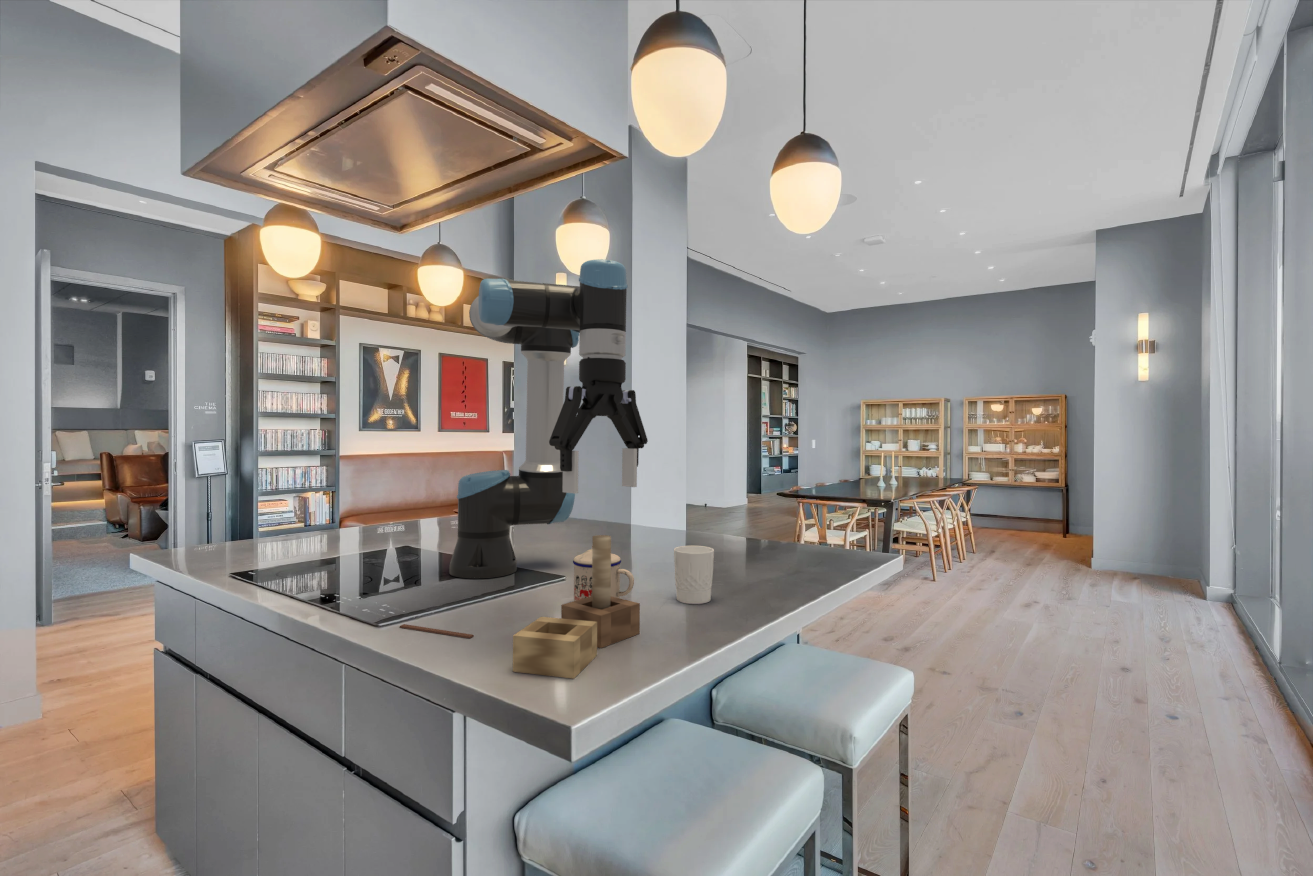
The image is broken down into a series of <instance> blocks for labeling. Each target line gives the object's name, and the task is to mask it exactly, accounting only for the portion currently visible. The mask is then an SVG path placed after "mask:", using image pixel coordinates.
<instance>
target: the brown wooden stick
mask: <svg viewBox="0 0 1313 876" xmlns="http://www.w3.org/2000/svg"><path fill="white" fill-rule="evenodd" d="M399 628H400V629H405V630H406V629H407V630H413V631H419V632H426V633H432V634H439V635H445V636H453V637H458V638H463V639H465V638H466V639H472V638H474V636H475V635H474V634H472V633H464V632H459V631H451V630H445V629H440V628H439V629H437V628H434V627H433V628H432V627H426V626H425V627H424V626H419V625H418V626H417V625H412V624H407V623H406V624H405V623H404V624H401V625H399Z"/></svg>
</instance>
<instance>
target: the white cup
mask: <svg viewBox="0 0 1313 876" xmlns="http://www.w3.org/2000/svg"><path fill="white" fill-rule="evenodd" d="M714 556H715V549H714V548H713V547H709V546H704V545H682V546H676V547H674V549H673V557H674V560H673V562H674V579H675V582H674V583H675V588H676V590H675V591H676V600H677V601H678V602H679V603H684V604H690V605H702V604H707V603H708V602H709V603H710V601H711V600H712V597H711V596H712V587H713V575H714V574H713V573H714V559H715V558H714Z"/></svg>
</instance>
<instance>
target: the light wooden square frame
mask: <svg viewBox="0 0 1313 876" xmlns="http://www.w3.org/2000/svg"><path fill="white" fill-rule="evenodd" d="M597 656H598V647H597V622H595V621H584V620H573V619H562V618H560V617H550V616H549V617H548V616H540V617H538V618H537V619H535V620H534V621H532V622H530V623H529V624H528V625H526V626H525V627H524V628H522V629H520V630H519V631H517V632H516V633H514V634H513V635H512V672H513V673H522V674H528V675H529V674H530V675H539V676H547V677H554V678H555V677H556V678H566V679H574V680H575V678H576V677H578V675H579V674H581V672H582V671H583V670H584V669H585V668H586V667H587V666H588V665H589V664H590V663H591V662H592V661H593V660H594V659H595V658H596V657H597Z"/></svg>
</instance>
